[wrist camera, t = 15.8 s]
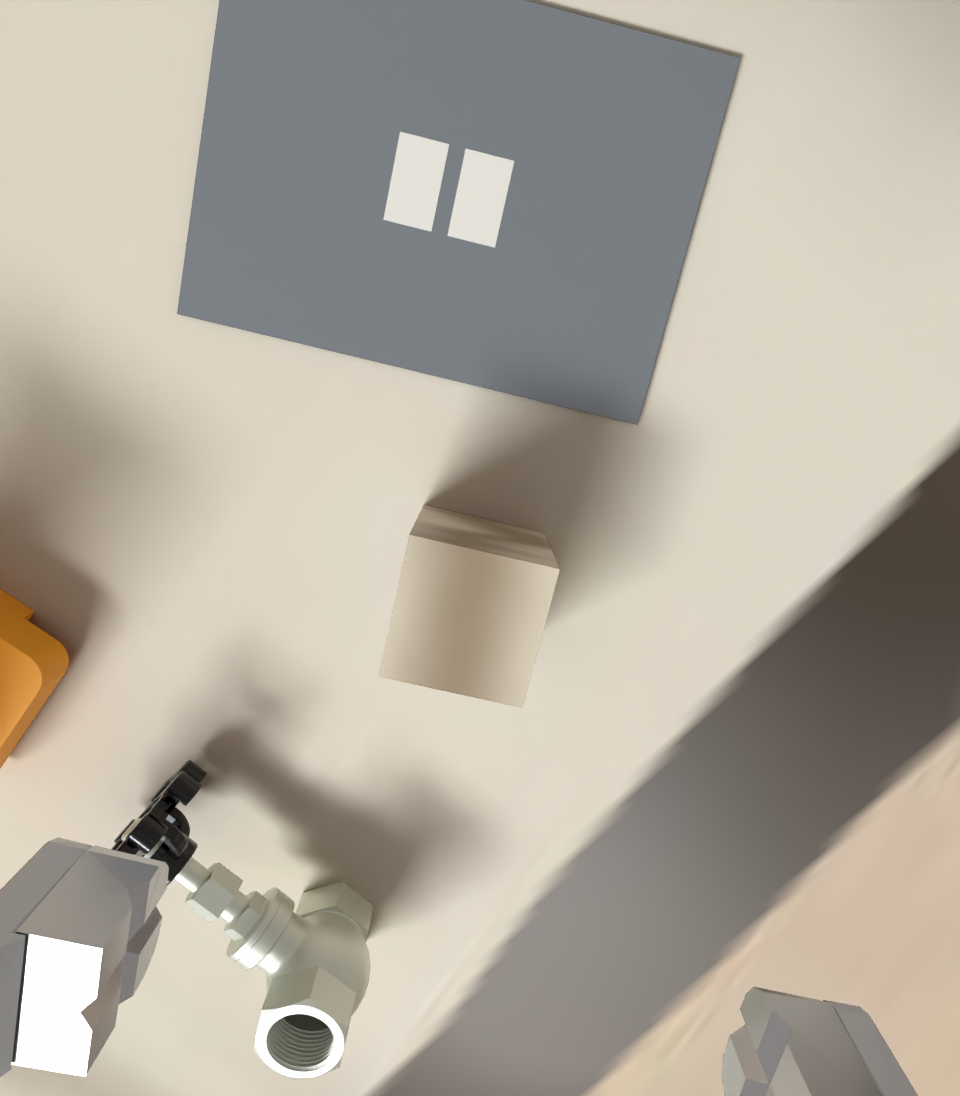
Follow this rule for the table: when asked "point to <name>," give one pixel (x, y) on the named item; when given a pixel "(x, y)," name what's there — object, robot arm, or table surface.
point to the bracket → (24, 671)
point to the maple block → (470, 606)
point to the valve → (270, 937)
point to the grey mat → (453, 188)
